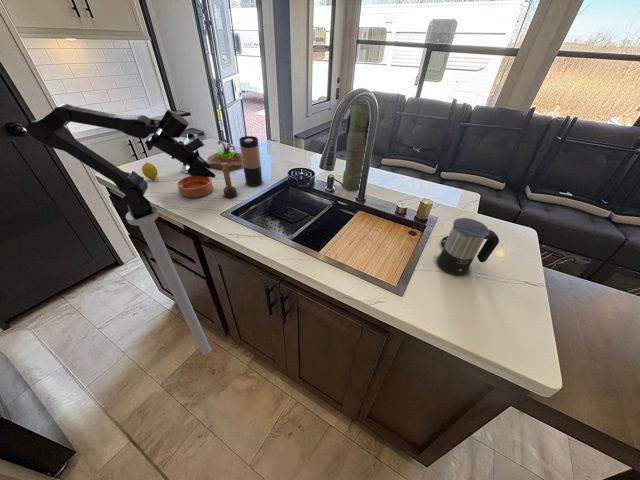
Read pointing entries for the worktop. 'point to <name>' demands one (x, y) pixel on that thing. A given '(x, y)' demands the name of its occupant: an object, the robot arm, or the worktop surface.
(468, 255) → the milk frother
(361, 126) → the green banded column
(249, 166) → the travel mug
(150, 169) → the lemon
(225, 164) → the dish brush
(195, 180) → the bowl
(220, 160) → the plant
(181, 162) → the beer glass
